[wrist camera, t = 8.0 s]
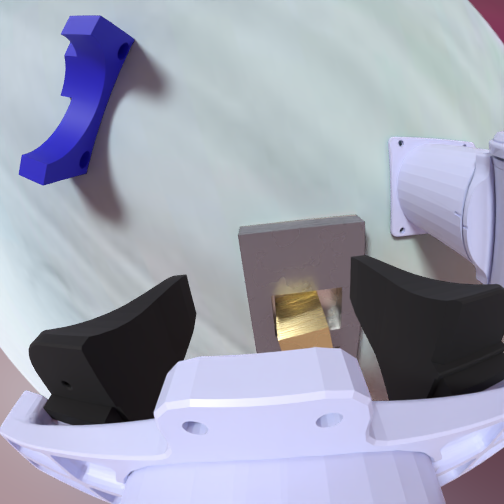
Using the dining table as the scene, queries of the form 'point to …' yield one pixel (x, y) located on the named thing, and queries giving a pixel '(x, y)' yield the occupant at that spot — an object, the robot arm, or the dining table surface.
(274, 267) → the gray rectangular plate
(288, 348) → the wooden toy block
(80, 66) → the cable clip
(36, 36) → the dining table surface
